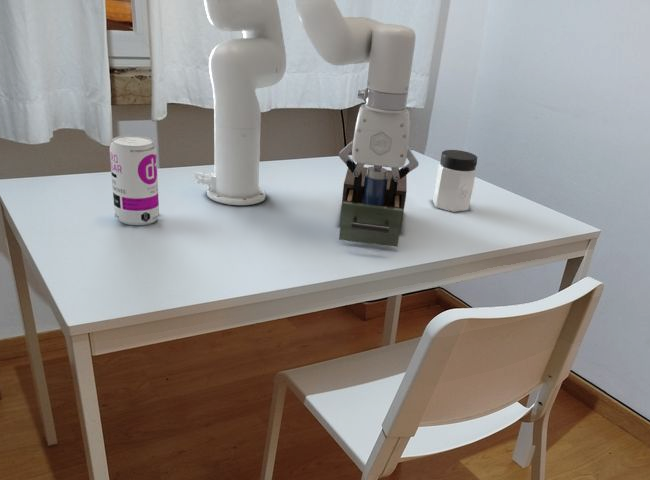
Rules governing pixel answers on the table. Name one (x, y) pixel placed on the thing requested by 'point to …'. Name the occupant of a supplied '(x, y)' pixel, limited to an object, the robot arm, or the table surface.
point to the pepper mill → (375, 186)
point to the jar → (455, 180)
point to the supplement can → (134, 180)
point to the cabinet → (400, 189)
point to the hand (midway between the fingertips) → (374, 196)
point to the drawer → (370, 221)
